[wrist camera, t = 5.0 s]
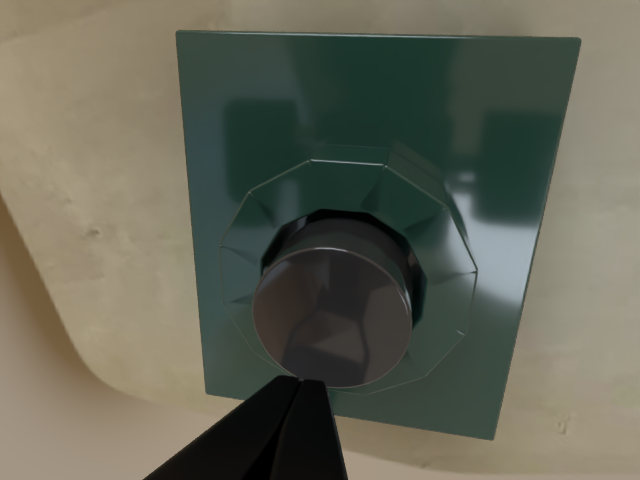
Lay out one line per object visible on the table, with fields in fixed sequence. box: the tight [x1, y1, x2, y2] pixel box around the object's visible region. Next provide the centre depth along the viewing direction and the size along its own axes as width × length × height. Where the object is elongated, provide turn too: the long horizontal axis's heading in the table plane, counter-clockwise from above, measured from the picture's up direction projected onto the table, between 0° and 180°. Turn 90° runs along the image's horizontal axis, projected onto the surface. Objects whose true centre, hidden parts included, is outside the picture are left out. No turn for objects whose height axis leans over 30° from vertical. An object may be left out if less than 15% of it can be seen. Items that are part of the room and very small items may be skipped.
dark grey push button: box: [252, 217, 413, 388], centre depth 11 cm, size 4×4×2 cm
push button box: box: [176, 30, 581, 441], centre depth 14 cm, size 12×10×6 cm
